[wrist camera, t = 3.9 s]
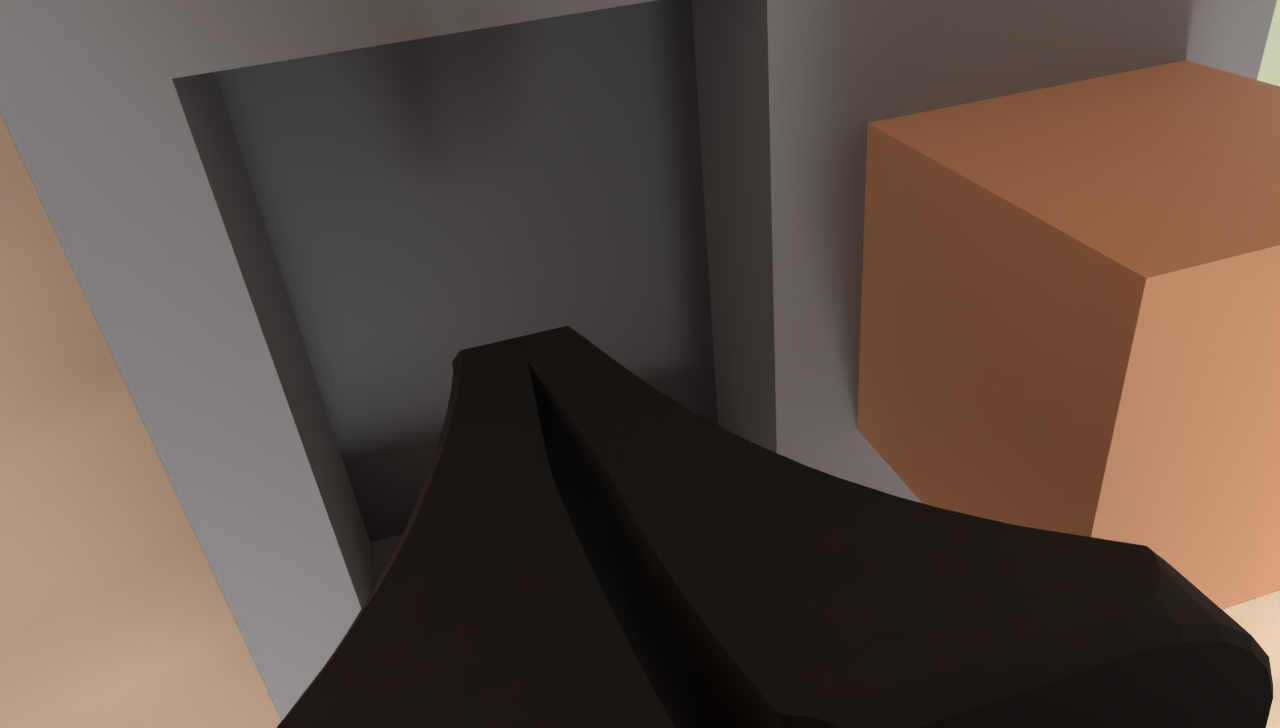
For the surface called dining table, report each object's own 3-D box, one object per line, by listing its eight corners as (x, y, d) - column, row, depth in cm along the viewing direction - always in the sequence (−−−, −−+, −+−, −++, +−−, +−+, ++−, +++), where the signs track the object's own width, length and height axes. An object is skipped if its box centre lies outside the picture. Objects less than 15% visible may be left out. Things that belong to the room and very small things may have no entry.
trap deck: (1634, 293, 23) (1794, 350, 20) (325, 671, 17) (327, 820, 14) (2028, -452, 16) (2353, -503, 13) (-57, -269, 9) (-191, -298, 7)
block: (1123, 358, 14) (1405, 547, 11) (857, 429, 13) (1063, 664, 10) (1184, 60, 12) (1577, 170, 8) (867, 122, 11) (1145, 277, 7)
